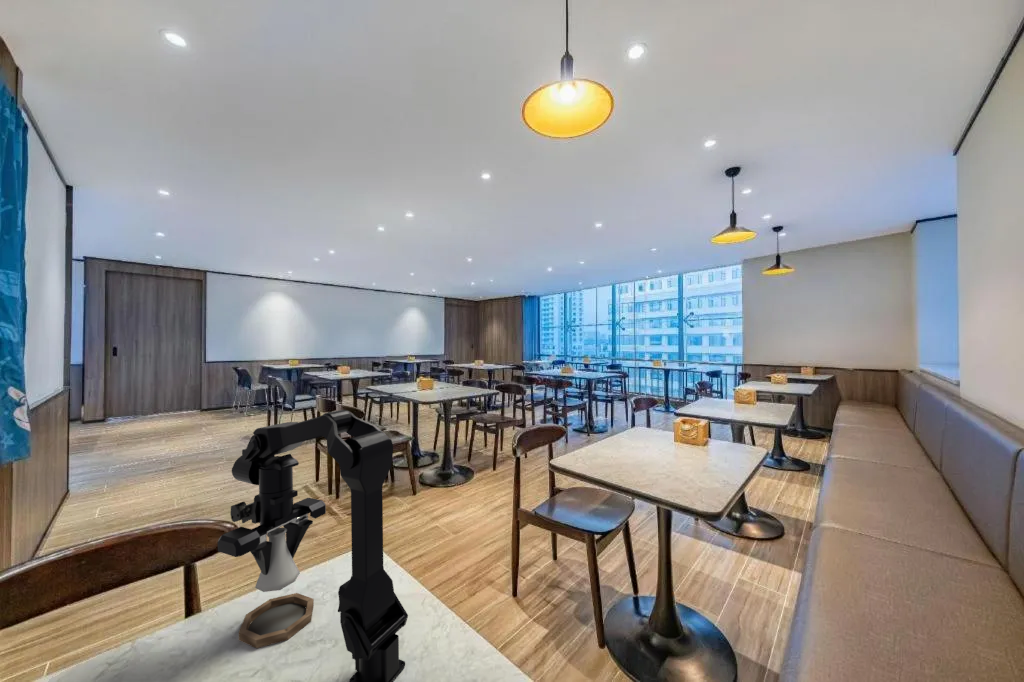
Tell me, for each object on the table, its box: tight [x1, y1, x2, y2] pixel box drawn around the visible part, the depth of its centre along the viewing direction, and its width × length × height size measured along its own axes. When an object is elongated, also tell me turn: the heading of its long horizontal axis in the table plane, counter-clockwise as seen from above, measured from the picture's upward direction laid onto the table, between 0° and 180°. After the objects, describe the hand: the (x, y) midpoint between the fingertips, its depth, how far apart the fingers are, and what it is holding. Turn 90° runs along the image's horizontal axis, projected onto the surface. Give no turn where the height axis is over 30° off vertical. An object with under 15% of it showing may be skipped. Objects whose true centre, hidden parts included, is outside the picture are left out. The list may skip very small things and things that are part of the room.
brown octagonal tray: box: [238, 592, 315, 649], centre depth 76 cm, size 12×12×2 cm
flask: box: [254, 527, 301, 593], centre depth 76 cm, size 7×7×10 cm
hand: (277, 566), depth 76 cm, fingers closed on flask, 5 cm apart
